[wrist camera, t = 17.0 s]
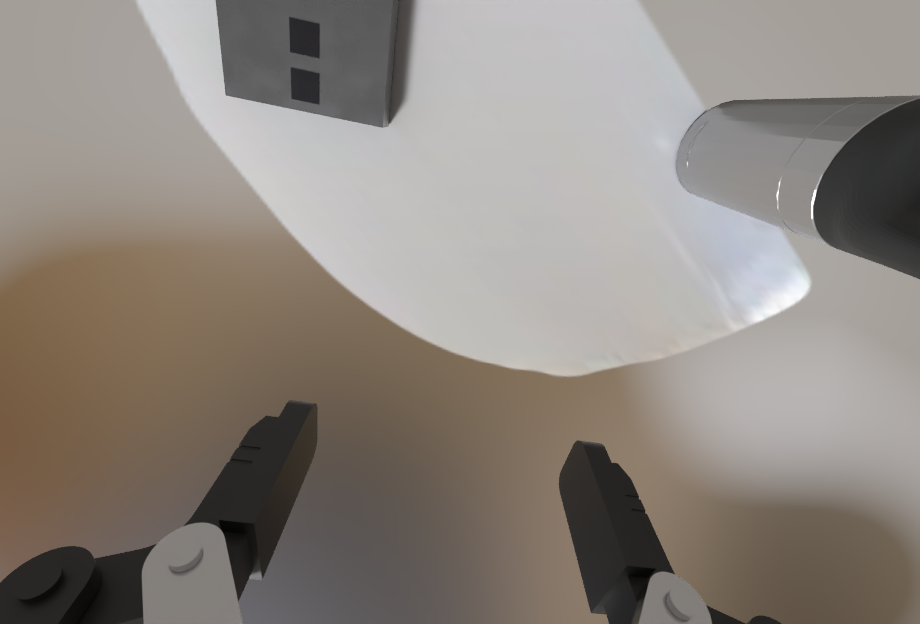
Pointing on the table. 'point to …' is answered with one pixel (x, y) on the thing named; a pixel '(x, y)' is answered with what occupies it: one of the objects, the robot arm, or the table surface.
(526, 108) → the table surface
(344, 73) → the metal socket plate
